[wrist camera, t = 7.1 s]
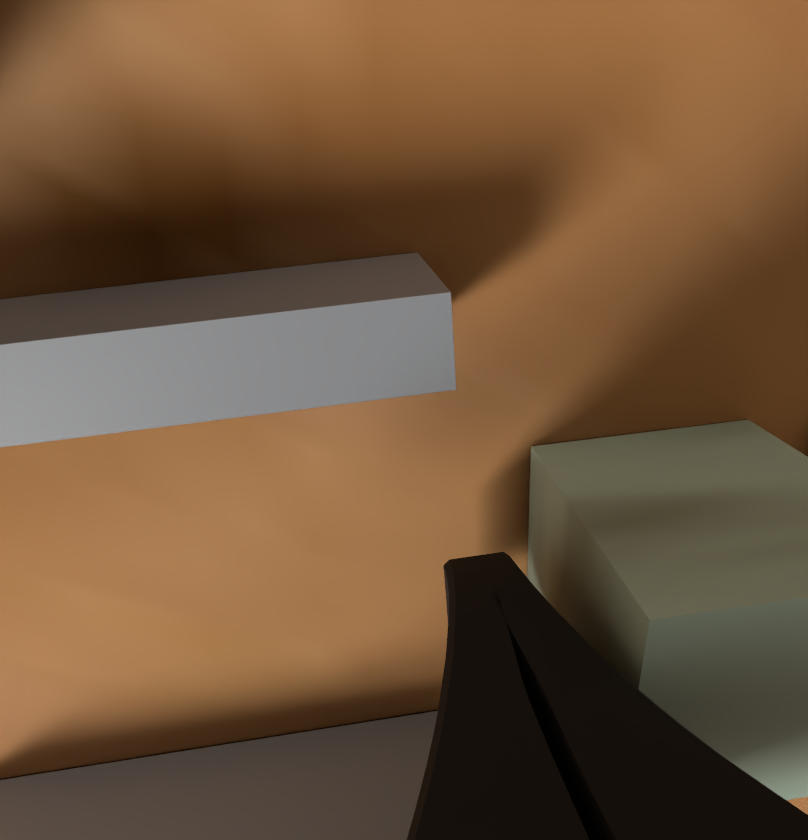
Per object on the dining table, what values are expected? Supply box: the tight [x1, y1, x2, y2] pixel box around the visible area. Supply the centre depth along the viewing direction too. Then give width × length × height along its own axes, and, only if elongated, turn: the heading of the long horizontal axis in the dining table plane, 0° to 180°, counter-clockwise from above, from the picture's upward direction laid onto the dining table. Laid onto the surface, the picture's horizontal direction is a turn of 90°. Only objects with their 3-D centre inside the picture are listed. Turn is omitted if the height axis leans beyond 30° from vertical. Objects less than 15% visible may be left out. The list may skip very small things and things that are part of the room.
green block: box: [527, 420, 808, 800], centre depth 10 cm, size 4×4×4 cm
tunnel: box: [0, 252, 456, 840], centre depth 10 cm, size 12×12×3 cm
